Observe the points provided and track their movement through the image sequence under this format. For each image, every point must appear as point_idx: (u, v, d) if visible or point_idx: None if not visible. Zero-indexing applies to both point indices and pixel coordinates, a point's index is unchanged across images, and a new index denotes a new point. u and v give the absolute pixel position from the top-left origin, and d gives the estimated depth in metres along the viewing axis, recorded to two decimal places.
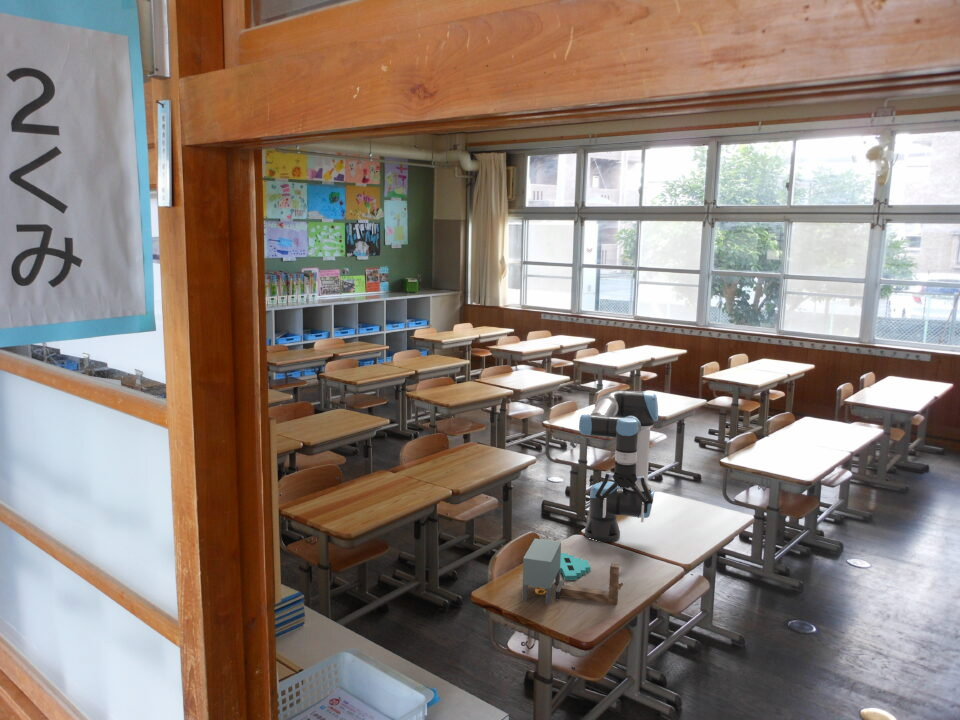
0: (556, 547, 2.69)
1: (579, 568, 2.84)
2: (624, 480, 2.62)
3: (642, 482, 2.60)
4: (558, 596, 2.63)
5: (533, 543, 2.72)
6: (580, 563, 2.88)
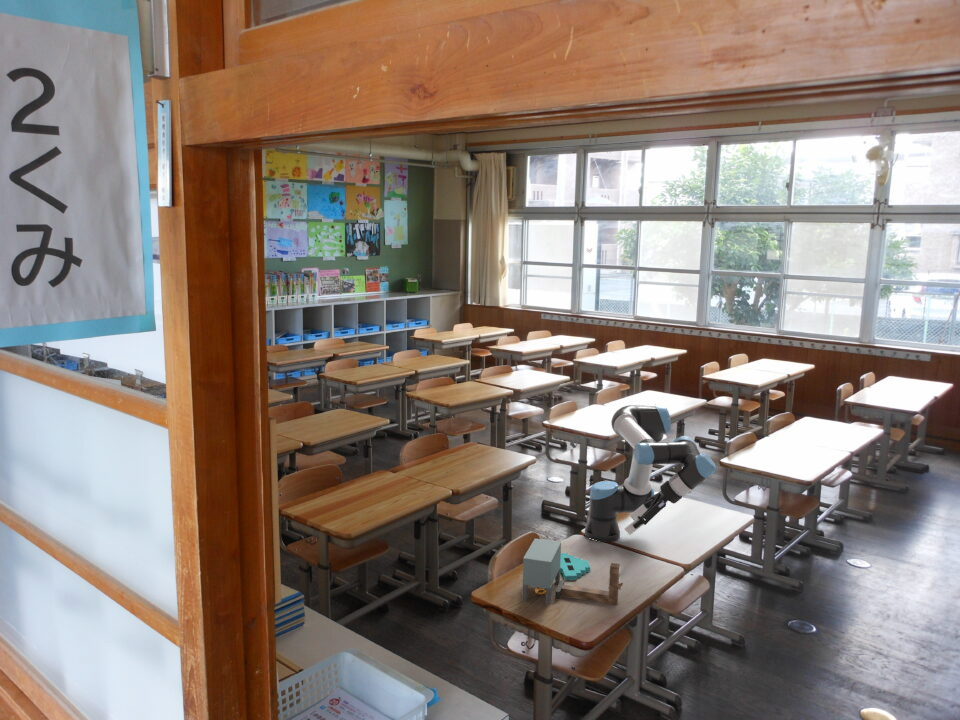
0: (556, 547, 2.69)
1: (579, 568, 2.84)
2: None
3: None
4: (558, 596, 2.63)
5: (533, 543, 2.72)
6: (580, 563, 2.88)
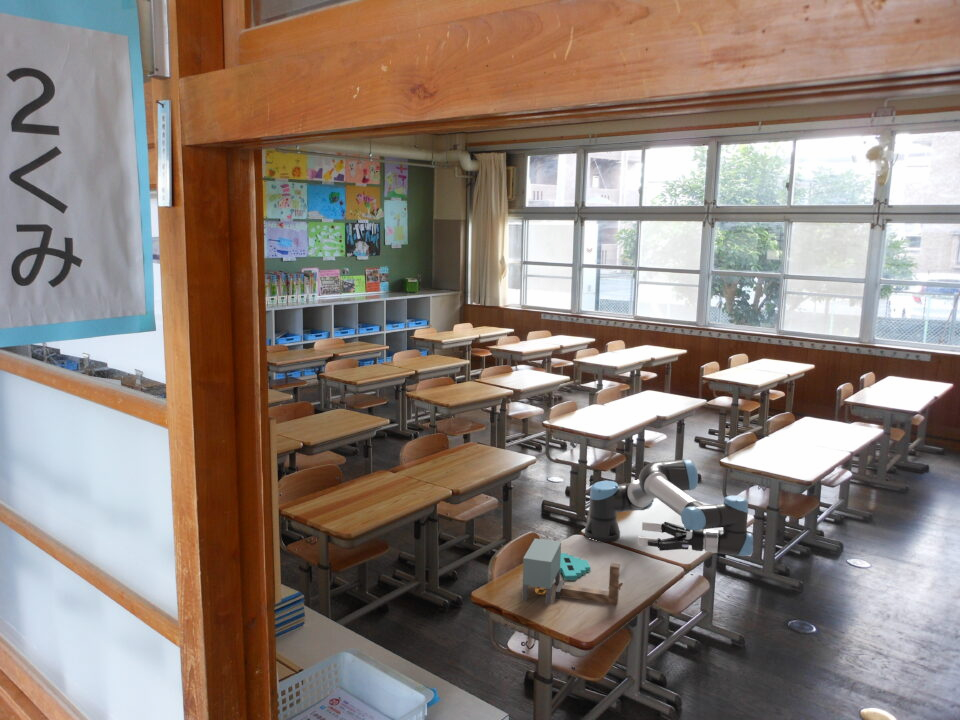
0: (556, 547, 2.69)
1: (579, 568, 2.84)
2: None
3: None
4: (558, 596, 2.63)
5: (533, 543, 2.72)
6: (580, 563, 2.88)
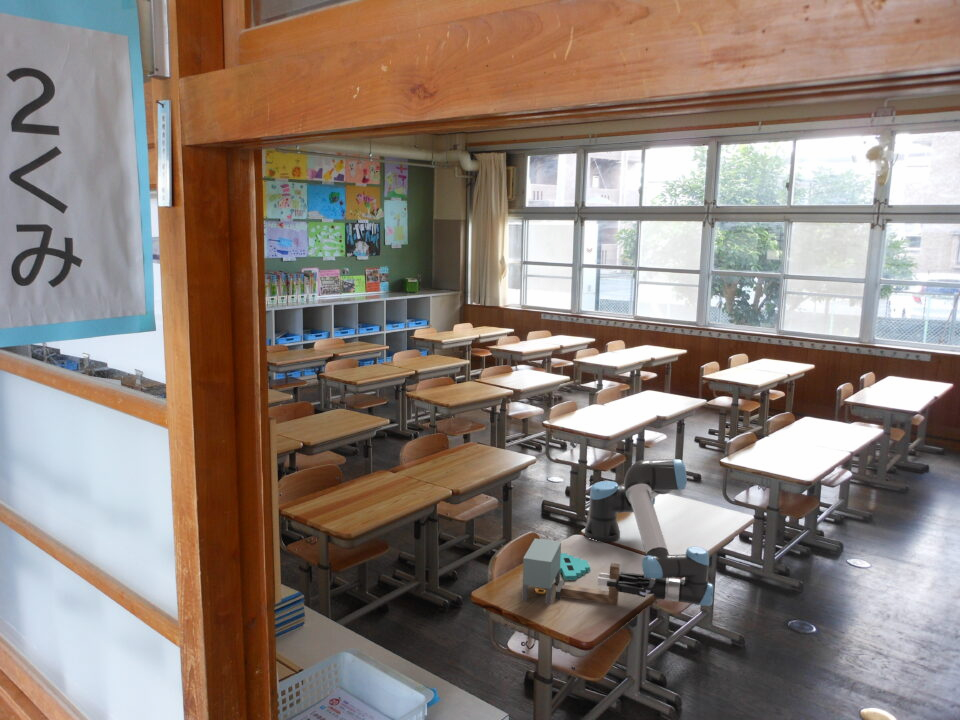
0: (556, 547, 2.69)
1: (579, 568, 2.84)
2: None
3: None
4: (558, 596, 2.63)
5: (533, 543, 2.72)
6: (579, 563, 2.88)
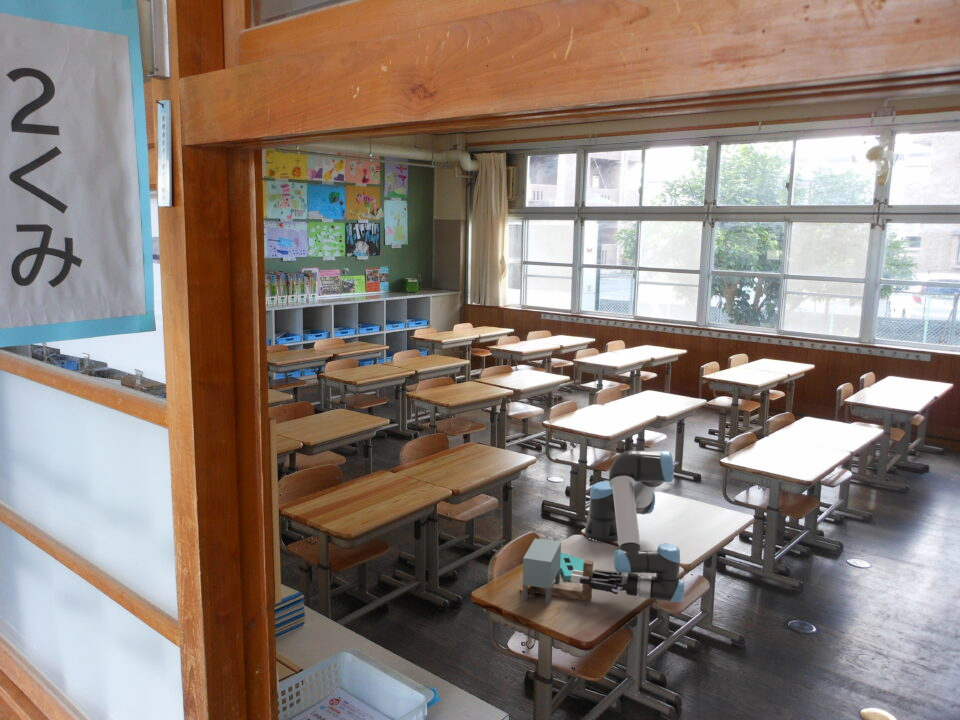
0: (556, 547, 2.69)
1: (579, 568, 2.84)
2: None
3: None
4: (532, 593, 2.65)
5: (533, 543, 2.72)
6: (579, 563, 2.88)
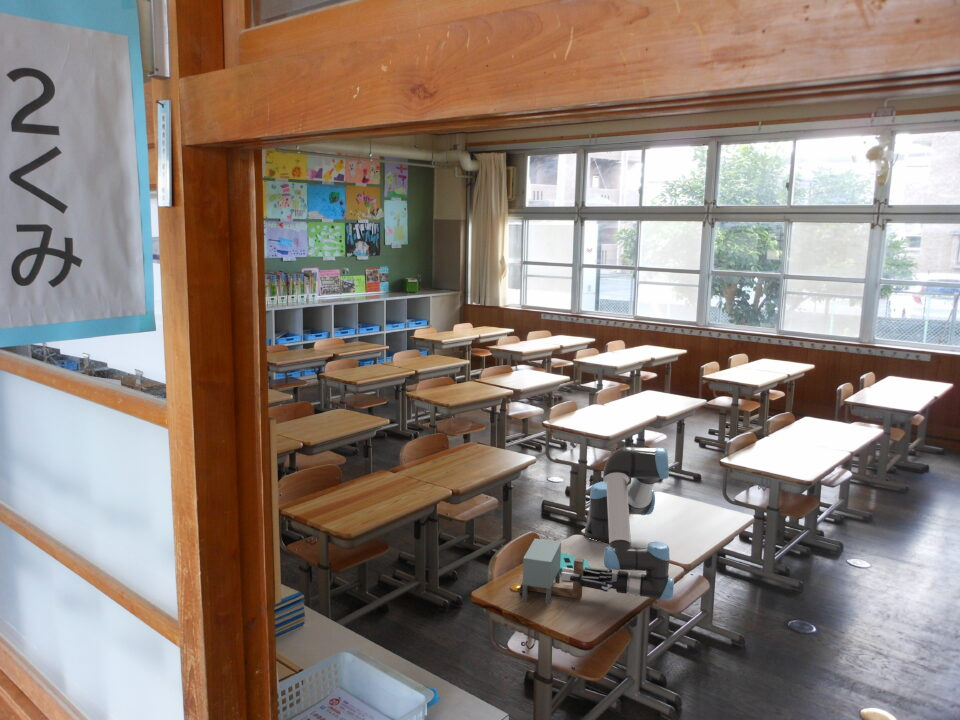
0: (556, 547, 2.69)
1: None
2: None
3: None
4: None
5: (533, 543, 2.72)
6: None
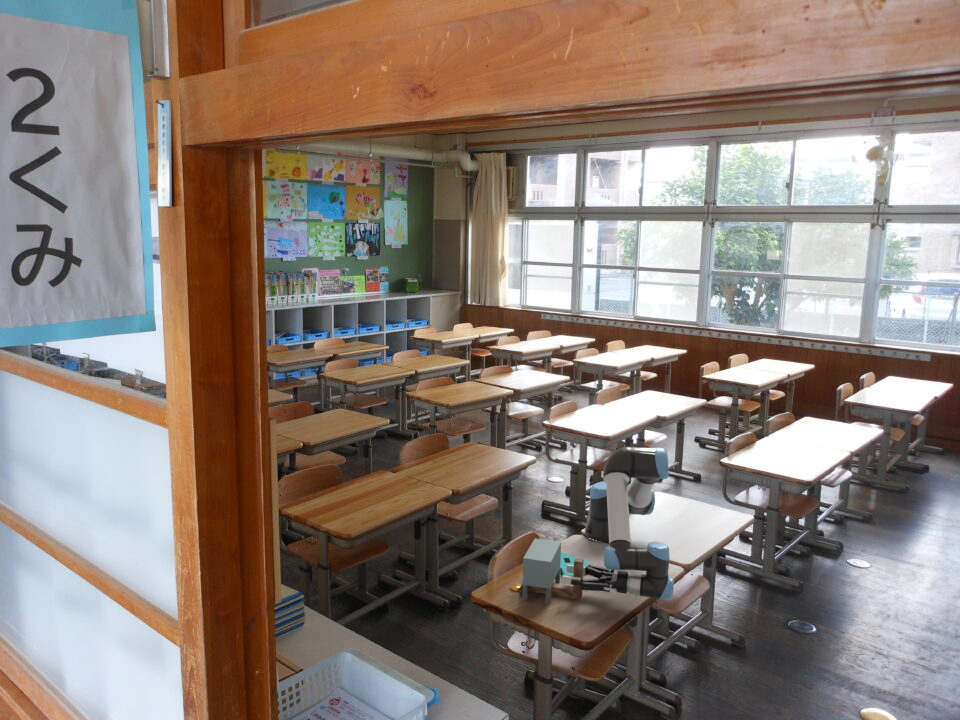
0: (556, 547, 2.69)
1: None
2: None
3: None
4: None
5: (533, 543, 2.72)
6: None
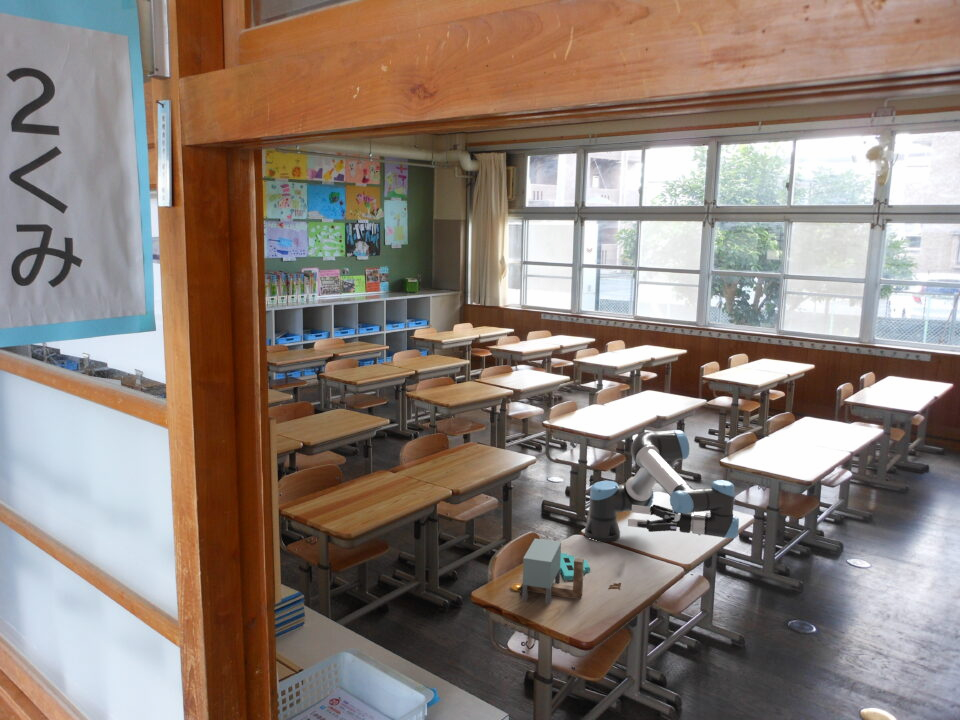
0: (556, 547, 2.69)
1: None
2: None
3: None
4: None
5: (533, 543, 2.72)
6: None
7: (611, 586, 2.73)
